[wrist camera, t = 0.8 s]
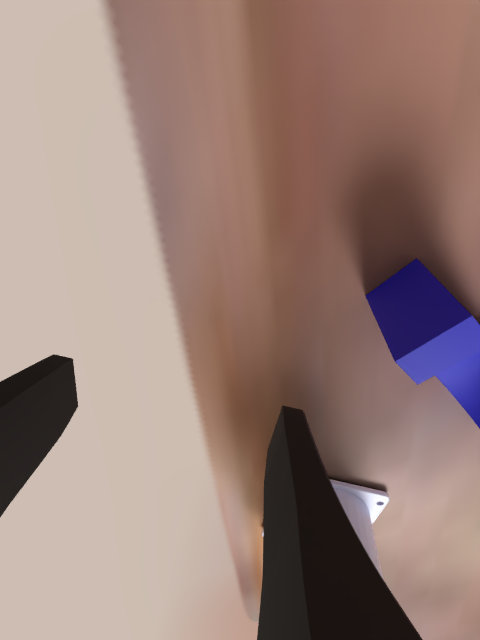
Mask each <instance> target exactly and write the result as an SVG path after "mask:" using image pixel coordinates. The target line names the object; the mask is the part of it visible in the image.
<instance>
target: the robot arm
mask: <svg viewBox="0 0 480 640" xmlns="http://www.w3.org/2000/svg"><path fill="white" fill-rule="evenodd" d="M77 407H78V401H77V392H76V383H75V375H74V366H73V359H72V358H67V357H63V356H58V355H52V356H50V357H48V358H45V359H43V360H41V361H39V362H37V363H36V364H34V365H32V366H30V367H28V368H26V369H24V370H22V371H20V372H19V373H17V374H14V375H12V376H11V377H9V378H7V379H5V380H3V381H1V382H0V517H1V515H2V514H3V512H4V511H5V510H6V508H7V507H8V505H9V504H10V502H11V501H12V500H13V499H14V497H15V496H16V495H17V493H18V492H19V491H20V489H21V488H22V487H23V486H24V484H25V483H26V482H27V480H28V479H29V477H30V476H31V475H32V474H33V472H34V471H35V470H36V468H37V467H38V466H39V464H40V463H41V462H42V461H43V459H44V458H45V457H46V455H47V454H48V452H49V451H50V450H51V448H52V447H53V446H54V444H55V443H56V442H57V440H58V439H59V437H60V436H61V435H62V433H63V431H64V430H65V428H66V426H67V425H68V423H69V421H70V419H71V418H72V416H73V414H74V412H75V411H76V408H77ZM388 501H389V495H388V493H386V492H384V491H380V490H375V489H371V488H366V487H362V486H358V485H353V484H349V483H345V482H340V481H336V480H331V479H329V477H328V474H327V472H326V470H325V467H324V465H323V463H322V460H321V458H320V455H319V453H318V450H317V448H316V445H315V442H314V440H313V437H312V434H311V431H310V429H309V426H308V423H307V420H306V416H305V413H304V412H303V410H300V409H295V408H291V407H286V406H282V409H281V412H280V415H279V418H278V421H277V424H276V427H275V430H274V433H273V436H272V439H271V442H270V445H269V448H268V453H267V461H266V470H265V479H264V528H263V531H262V535H263V580H262V592H261V603H260V615H259V626H258V636H257V640H422V638H421V637H420V635H419V634H418V632H417V631H416V629H415V628H414V626H413V625H412V623H411V622H410V620H409V618H408V617H407V615H406V614H405V612H404V611H403V609H402V608H401V606H400V605H399V603H398V602H397V600H396V599H395V597H394V596H393V594H392V593H391V591H390V590H389V588H388V587H387V585H386V583H385V582H384V580H383V575H382V570H381V566H380V561H379V556H378V551H377V546H376V541H375V536H374V532H373V527H372V524H373V522H374V521H375V520H376V518H377V517H378V515H379V514H380V513H381V511H382V510H383V508H384V507H385V506H386V504H387V503H388Z"/></svg>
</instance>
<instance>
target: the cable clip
mask: <svg viewBox="0 0 480 640" xmlns="http://www.w3.org/2000/svg"><path fill="white" fill-rule="evenodd" d="M366 298H367V300H368V303H369V305H370V307H371V309H372V311H373V314H374V316H375V318H376V320H377V323H378V325H379V327H380V329H381V332H382V334H383V336H384V338H385V341H386V343H387V345H388V347H389V349H390V352H391V354H392V356H393V358H394V361H395V362H396V363H397V364H398V365H399V366H400V367H401V368H402V369H403V370H404V371H405V372H406V373H407V374H408V375H409V377H410V378H411V379H412V380H413V381H414V382H415V383H416V384H417V385H418V384H420V383H422V382H423V381H425V380H427V379H429V378H431V377H433V376H436V377H437V378H438V379H439V380H440V381H441V382H442V383H443V385H444V386H445V387H446V388H447V389H448V390H449V391H450V392H451V394H452V395H453V396H454V397H455V398H456V399H457V401H458V402H459V403H460V404H461V405H462V407H463V408H464V409H465V410H466V412H467V413H468V414H469V415H470V417H471V418H472V419H473V420H474V422H475V423H476V424H477V426H478V427H479V428H480V325H479V323H478V322H477V321H476V320H475V318H474V317H473V316H472V315H471V314H470V313H469V312H468V311H467V310H466V309H465V308H464V307H463V306H462V305H461V304H460V303H459V302H458V301H457V299H456V298H455V297H454V296H453V295H452V294H451V293H450V292H449V291H448V290H447V289H446V288H445V287H444V286H443V285H442V284H441V283H440V282H439V281H438V280H437V279H436V278H435V277H434V276H433V275H432V274H431V273H430V272H429V271H428V269H427V268H426V267H425V266H424V265H423V264H422V263H421V262H420V261H419V260H418V259H415V260H414V261H412V262H411V263H410V264H408V265H407V266H406V267H404V268H403V269H401V270H400V271H399V272H397V273H396V274H394V275H393V276H392V277H390V278H389V279H388V280H386V281H385V282H383V283H382V284H381V285H379V286H378V287H377V288H375V289H374V290H372V291H371V292H370V293H368V294H367V295H366Z"/></svg>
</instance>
